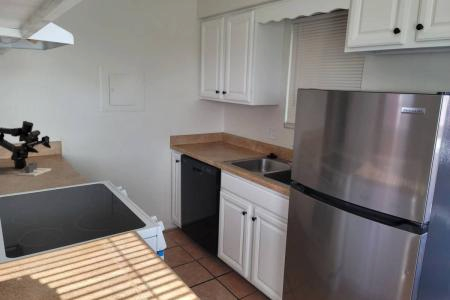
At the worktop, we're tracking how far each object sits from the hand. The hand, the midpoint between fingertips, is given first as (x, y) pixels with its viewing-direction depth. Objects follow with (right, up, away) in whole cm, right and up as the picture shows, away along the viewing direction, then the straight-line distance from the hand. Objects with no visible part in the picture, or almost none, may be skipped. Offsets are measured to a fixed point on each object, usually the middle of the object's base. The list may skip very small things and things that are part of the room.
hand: (44, 149), depth 217 cm
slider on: (-9, -13, +4) cm, 16 cm away
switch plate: (-6, -15, -1) cm, 16 cm away
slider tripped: (-7, -14, -5) cm, 16 cm away
